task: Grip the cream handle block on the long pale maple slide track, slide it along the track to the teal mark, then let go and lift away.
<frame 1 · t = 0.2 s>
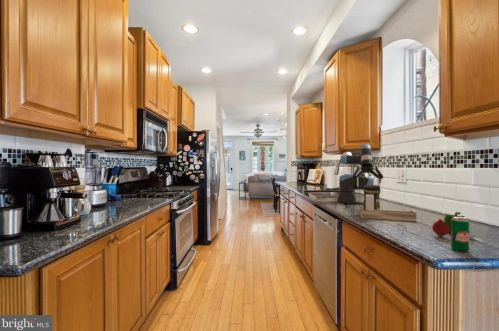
hand: (368, 186, 176), 16 cm above the worktop, tool tilted 35°, fingers open, 13 cm apart
coffee jar: (371, 213, 159), on the worktop
slider: (369, 203, 149), point 8 cm above the worktop, slide at -9.0 cm
onion: (440, 237, 108), on the worktop
soda can: (459, 250, 91), on the worktop
track: (386, 218, 146), on the worktop
bell pepper: (455, 233, 114), on the worktop
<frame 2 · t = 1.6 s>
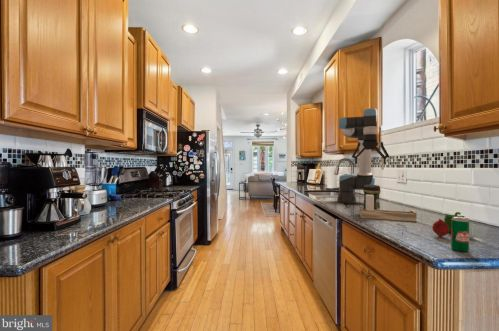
hand: (369, 169, 150), 28 cm above the worktop, tool pointing down, fingers open, 13 cm apart
nothing on the worktop moved.
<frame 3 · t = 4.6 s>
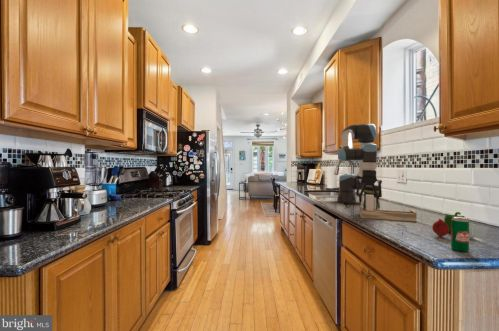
hand: (368, 208, 149), 5 cm above the worktop, tool pointing down, fingers open, 6 cm apart
nothing on the worktop moved.
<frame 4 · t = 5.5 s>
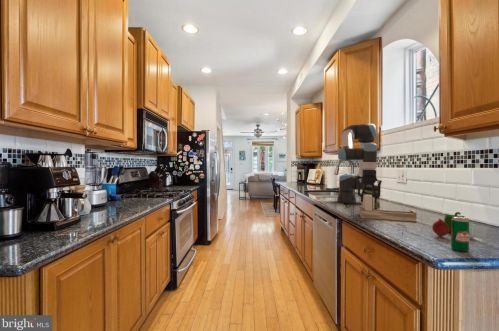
hand: (368, 208, 149), 5 cm above the worktop, tool pointing down, fingers open, 5 cm apart
slider: (367, 203, 149), point 8 cm above the worktop, slide at -10.0 cm, touching gripper
everything else where it was.
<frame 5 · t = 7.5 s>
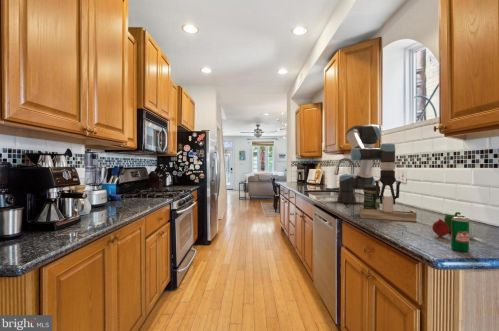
hand: (387, 209, 146), 5 cm above the worktop, tool pointing down, fingers closed on slider, 4 cm apart
slider: (387, 204, 146), point 8 cm above the worktop, slide at 0.4 cm, touching gripper
everything else where it was.
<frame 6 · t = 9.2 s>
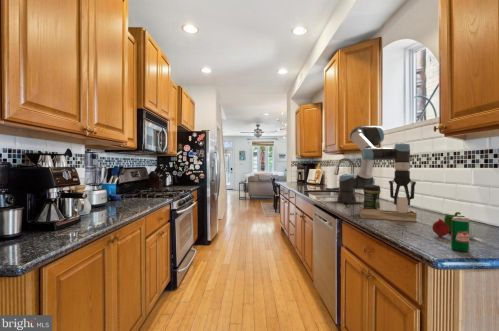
hand: (401, 210, 143), 5 cm above the worktop, tool pointing down, fingers closed on slider, 4 cm apart
slider: (401, 205, 143), point 8 cm above the worktop, slide at 7.7 cm, touching gripper
everything else where it was.
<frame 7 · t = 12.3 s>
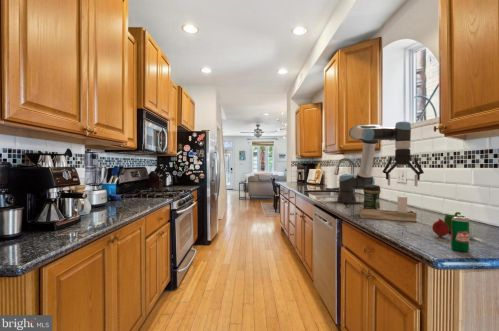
hand: (402, 185, 143), 19 cm above the worktop, tool pointing down, fingers open, 13 cm apart
slider: (402, 205, 143), point 8 cm above the worktop, slide at 8.0 cm
everything else where it was.
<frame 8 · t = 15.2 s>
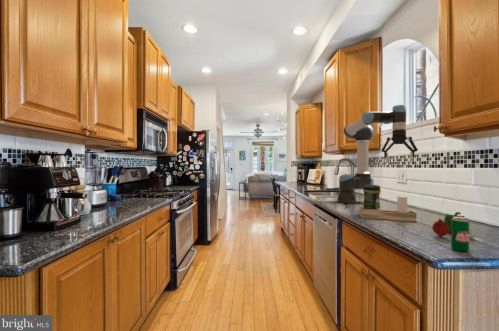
hand: (398, 162, 160), 33 cm above the worktop, tool pointing down, fingers open, 13 cm apart
nothing on the worktop moved.
at the end: slider slide at 8.0 cm; the gripper is holding nothing; coffee jar moved 0.2 cm from its start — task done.
